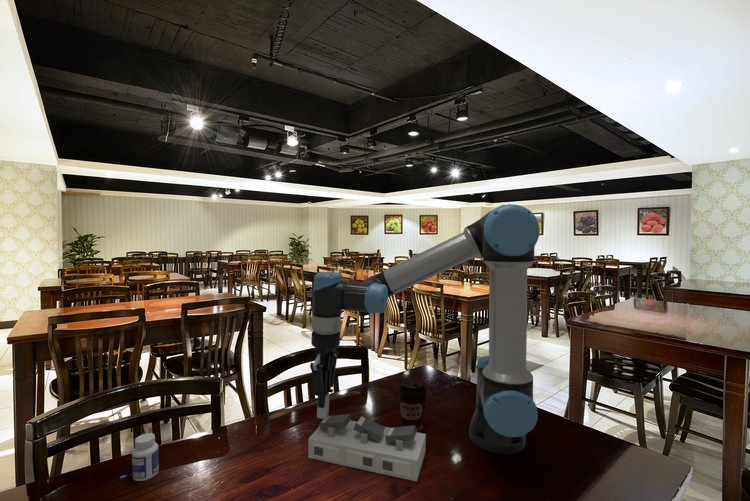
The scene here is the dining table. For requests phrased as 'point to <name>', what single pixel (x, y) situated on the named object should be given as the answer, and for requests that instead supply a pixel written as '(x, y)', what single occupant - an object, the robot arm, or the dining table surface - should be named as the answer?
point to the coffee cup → (412, 403)
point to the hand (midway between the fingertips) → (322, 417)
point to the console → (368, 451)
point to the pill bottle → (145, 457)
